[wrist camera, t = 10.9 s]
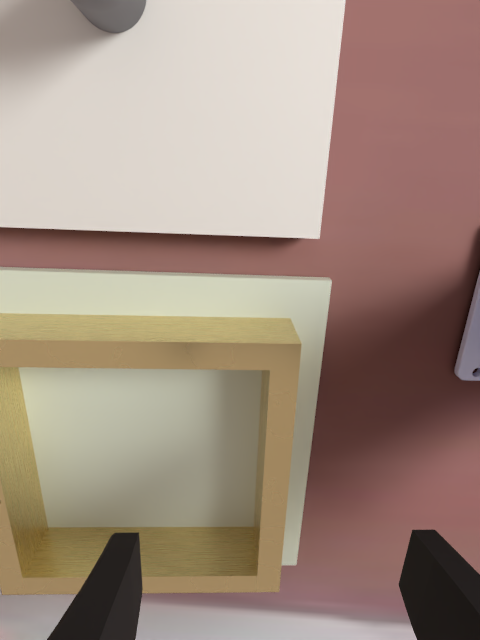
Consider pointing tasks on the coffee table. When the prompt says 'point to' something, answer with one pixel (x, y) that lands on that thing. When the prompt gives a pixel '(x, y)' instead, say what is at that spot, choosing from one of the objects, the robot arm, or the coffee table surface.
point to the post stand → (167, 114)
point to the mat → (163, 404)
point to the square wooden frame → (155, 542)
